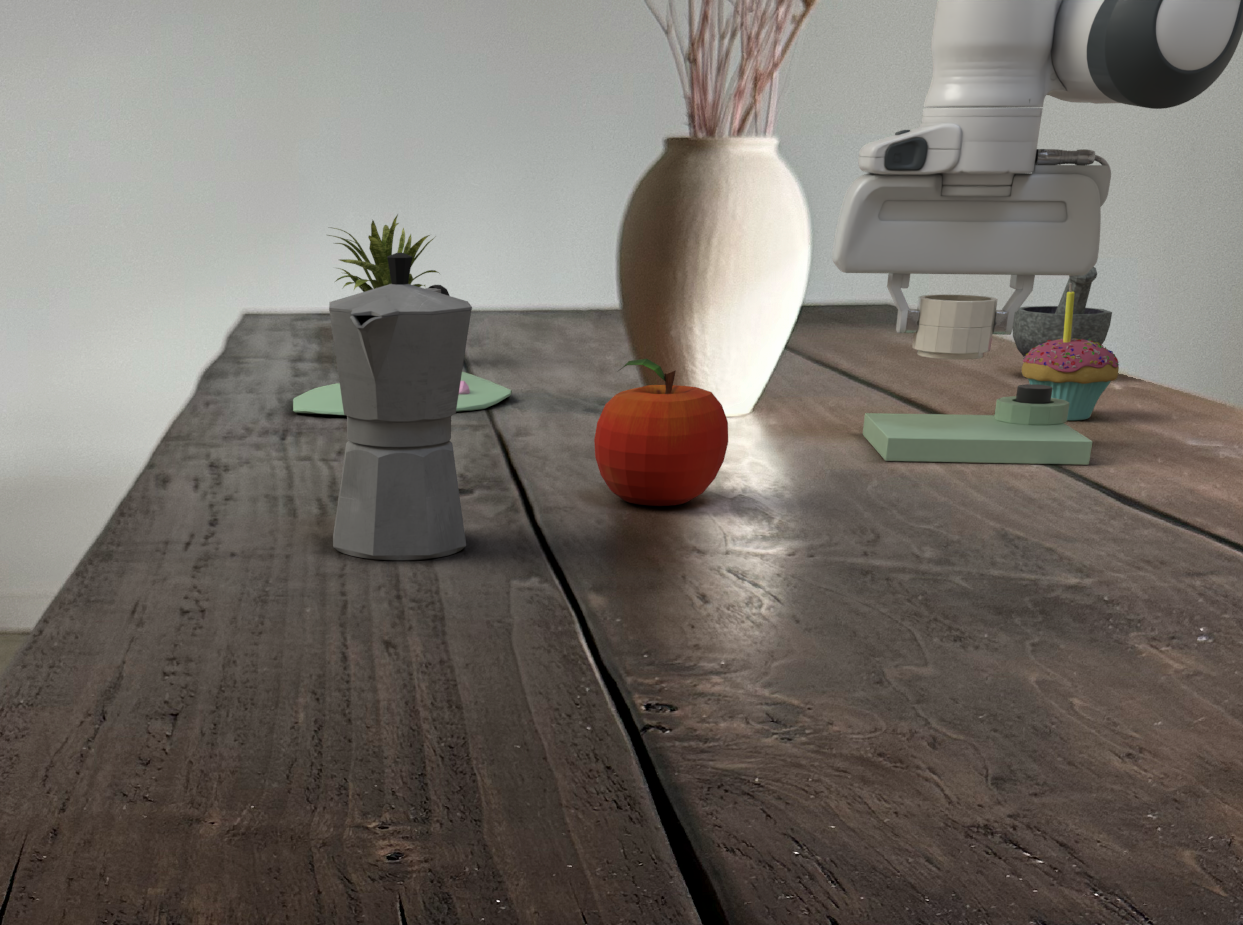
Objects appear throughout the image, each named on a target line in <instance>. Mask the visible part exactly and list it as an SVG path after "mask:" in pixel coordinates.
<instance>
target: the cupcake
mask: <svg viewBox="0 0 1243 925" xmlns="http://www.w3.org/2000/svg"><path fill="white" fill-rule="evenodd" d="M1073 306H1074V292H1072V283H1070V287H1069V292H1067V297H1066V310H1065V323H1064V336H1063V339H1057V340H1054V341H1051V340H1048V341H1047V342H1046V343H1043V344H1040V345H1038V346H1036V347H1034V348H1032V349H1031V350H1030V352H1029V353H1027V354H1026V356H1025V357H1023V358H1022V363H1023V364H1022V367H1021V375H1022V374H1023V375H1022V376H1023V377H1025V379H1027V380H1028V384H1036V385H1046V386H1051V387H1052V395H1051V398H1056V399H1061V400H1065V401H1067V402H1069V403H1070V404H1069V410H1068V417H1067V421H1084V420H1089V419H1090V418H1091V416H1092V413H1093V411H1094V409H1095V407H1096V405H1097V403H1098V401H1099V399H1100V398H1101V395H1103V393H1104V392H1105V390H1106V389H1107V388H1108V386H1109V385H1110V384H1111V382H1114V381H1116V380H1117V379H1118V375H1119V371H1120V367H1119V366H1120V364H1119V359H1118V357H1117V356H1116V354H1115V353H1114V352H1113V350H1110V349H1108V348H1107V347H1106V346H1104V345H1103V344H1102V345H1100V344H1099V343H1098V342H1093V341H1091V340H1089V341H1088V339H1087V340H1084V339H1076V338H1073V339H1071V331H1072V318H1073Z"/></svg>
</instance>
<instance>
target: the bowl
mask: <svg viewBox="0 0 1243 925" xmlns="http://www.w3.org/2000/svg"><path fill="white" fill-rule="evenodd" d="M997 308H998V298H996V297H992V296H986V295H975V294H973V295H972V294H949V293H948V294H946V293H945V294H943V293H942V294H925V295H924V294H923V295H920V296H918V298H917V306H916V309H917V310H919V311H920V316H919V320H918V322H917V324H918V331H917V333H913V338H912V346H911V348H912V349H913V350H916V355H917V356H918V357H923V358H928V359H938V360H955V361H956V360H958V361H959V360H964V361H965V360H978V359H983V358H984V357H985V353H988V352H990V351H991V349H992V343H993V335H994V334H993V328H994V321H995V314H996V310H997Z"/></svg>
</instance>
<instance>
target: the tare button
mask: <svg viewBox="0 0 1243 925" xmlns="http://www.w3.org/2000/svg"><path fill="white" fill-rule="evenodd" d="M1051 395H1052V387H1051V386H1046V385H1036V384H1030V383H1028V384H1019V385H1017V390H1016V395H1015V396H1016V401H1015V402H1020V403H1030V404H1049V403H1050V401H1051Z"/></svg>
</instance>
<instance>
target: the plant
mask: <svg viewBox="0 0 1243 925" xmlns="http://www.w3.org/2000/svg"><path fill="white" fill-rule="evenodd" d="M512 394H513V390H512V389H510V388H508V387H506V386H503V385H501V384H499V383H497V382H494V381H491V380H489V379H486V378H483V377H480V376H479V375H475V374H471V373H469V372H465V371H462V375H461V382H460V388H459V395H458V402H457V408H456V413H457V412H467V411H470V412H471V411H476V410H485V409H487V408H489V407H491V406H494V405H497V404H498V403H500V402H502V401H503V400H505V399H506V398H508V397H510V396H511V395H512ZM292 411H293V412H294V413H297V414H313V415H331V416H332V415H333V416H345V415H344V411H343V404H342V397H341V390H340V383H339V382H338V383H332V384H331V383H330V384H327V385H323V386H318V387H315V388H312V389H309V390H307V391H305V392H303V393H301V394H299V395H297V396H296V397H294V398H293V399H292Z"/></svg>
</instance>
